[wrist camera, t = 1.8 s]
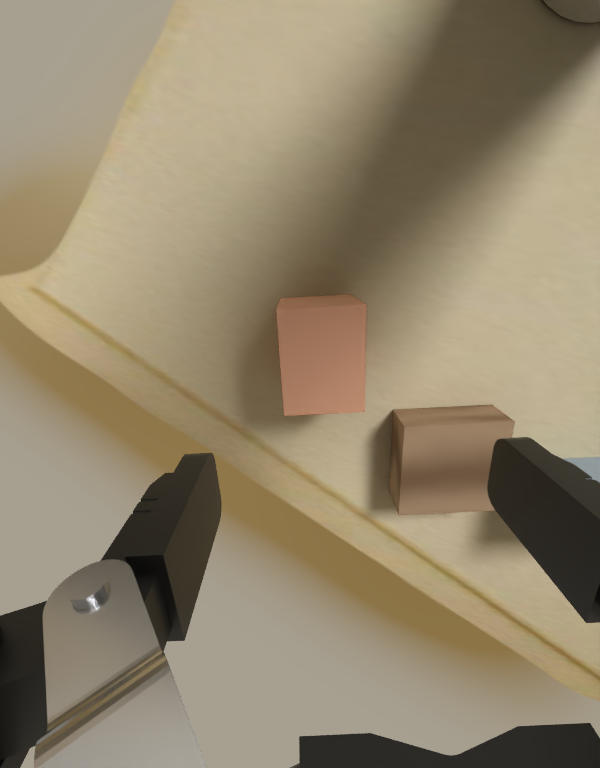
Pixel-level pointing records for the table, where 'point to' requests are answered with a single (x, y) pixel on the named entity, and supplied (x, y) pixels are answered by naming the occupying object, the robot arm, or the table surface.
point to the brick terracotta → (322, 354)
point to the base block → (444, 458)
